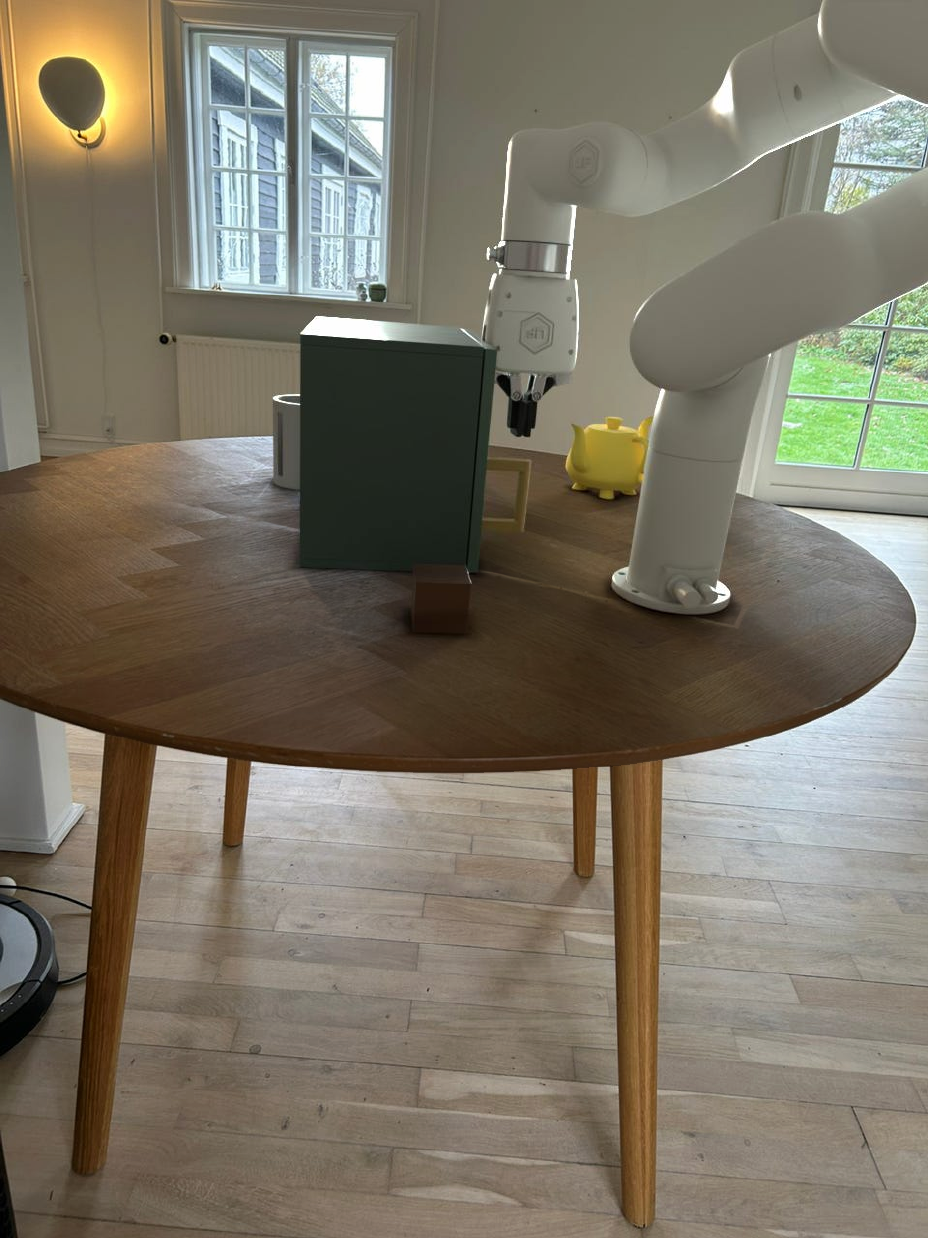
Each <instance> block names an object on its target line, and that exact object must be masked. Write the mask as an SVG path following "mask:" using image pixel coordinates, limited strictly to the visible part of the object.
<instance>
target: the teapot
mask: <svg viewBox="0 0 928 1238" xmlns="http://www.w3.org/2000/svg"><path fill="white" fill-rule="evenodd" d="M653 417H654V416H649V417H646V418H645V419H643V420H642V422H641V423H640V425H639V427H638V428H637V429H636V428H632V427H629V426H624V425H622V424H623V421H624V419H623V418H621V417H616V416H607V417H605V423H592V424H589V425H588V426H587V427H586V428H583V427H582V426H580V425H578V424H575V423H570V425H571V427H572V428H573V432H574V436H573V441H572V446H571V448H570V450H569V452H568V453H567V454H568V455H567V457H566V461H565V471H566V472H567V475H568V476H569V477H570V479H571V480H572V481H573V482H574V484H573V486H572V487H571V489H573V490H576V491H586V490H587V489H588V488H592V489H598V490H599V494H598V497H599V498H602V499H606V500H613V499H614V498H615V496H614V495H615V494H614V493H615V491H621V493H622V494H623V495H629V496H635V495H637V492H636V491H635V489H638V488H639V487H640V486H642V480H643V474H644V468H645V462H646V455H647V450H648V444H649V439H648V438H649V437H648V436H649V435H648V434H649V430H650V428H651V427H650V426H651V425H652V422H653Z"/></svg>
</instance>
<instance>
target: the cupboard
mask: <svg viewBox="0 0 928 1238" xmlns="http://www.w3.org/2000/svg"><path fill="white" fill-rule="evenodd" d="M462 329H463V328H461V327H460V326H448V325H438V324H437V325H436V324H422V323H421V324H420V323H409V322H408V323H407V322H395V321H382V320H381V321H380V320H369V319H368V320H367V319H356V318H340V317H329V316H328V317H327V316H315V317H314V319H313V320H312V321H311V322H310V323H309V324H308V325H306V327H305V328H304V329H303V330H302V331H301V332H300V333H299V375H300V376H299V395H300V490H299V568H309V569H310V568H312V569H337V570H360V571H385V572H386V571H387V572H388V571H389V572H409V573H410V572H411V573H413V564H414V563H418V564H443V565H465V566H466V558H467V546H468V534H469V521H470V509H471V497H472V485H473V473H474V461H475V449H476V437H477V425H478V412H479V400H480V388H481V376H482V364H483V352H484V347H483V346H482V345H481V344H479V343H478V342H477V341H476V340H474V339H473V338H472V337H471V336H469V335H468V334H467V333H466V332H464V331H463V330H462Z"/></svg>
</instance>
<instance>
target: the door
mask: <svg viewBox="0 0 928 1238" xmlns="http://www.w3.org/2000/svg"><path fill="white" fill-rule="evenodd" d="M461 329H462V330H463V331H464V332H466V333H467V334H468V335H469V336H471V337H472V338H473V339H474V340H476V341H477V342H478V343H479V344H481V345H482V346H483V347H484V352H483V364H482V376H481V388H480V400H479V412H478V425H477V437H476V449H475V461H474V473H473V485H472V497H471V509H470V521H469V534H468V546H467V558H466V568H467V571H468V574H469V573H470V574H478V573H479V562H480V552H481V551H480V549H481V539H482V532H500V533H501V532H502V533H503V532H504V533H523V532H524V531H525V524H526V523H525V522H526V513H527V505H528V504H527V503H528V496H529V495H528V494H529V486H530V477H531V467H532V460H531V459H528V458H516V457H514V458H513V457H496V456H489V451H490V450H489V448H490V437H491V427H492V426H491V425H492V414H493V403H494V392H495V383H494V382H495V372H497V371H496V360H497V349H496V348H494V347H493V346H492V345H490V344H489V343H487V342H485V340H481V337H482V336H480V335H478V334H477V333H476V332H474V330H472V329H470V328H461ZM488 471H499V472H515V473H516V472H517V473H518V478H517V486H516V487H517V488H516V497H515V506H514V516H513V517H514V518H501V517H483V516H484V506H485V493H486V482H487V473H488Z"/></svg>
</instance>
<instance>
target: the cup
mask: <svg viewBox="0 0 928 1238" xmlns="http://www.w3.org/2000/svg"><path fill="white" fill-rule="evenodd" d="M272 447H273V448H272V461H273V462H272V463H273V464H272V465H273V466H272V470H273V471H272V472H273V473H272V476H273V483H274V484H275V485H276V486H277V487H281V488H285V489H289V490H298V491H300V394H297V393H296V394H280V395H276V396H273V397H272Z"/></svg>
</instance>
